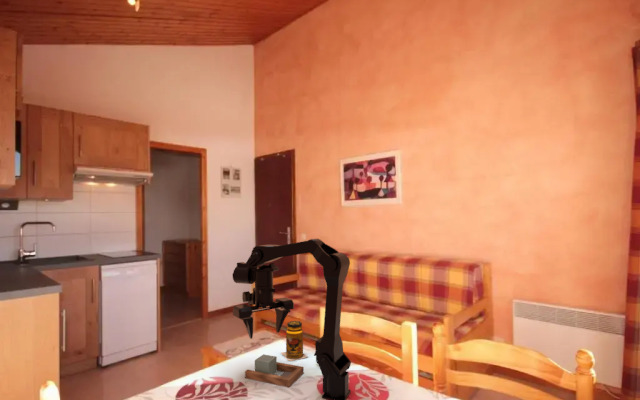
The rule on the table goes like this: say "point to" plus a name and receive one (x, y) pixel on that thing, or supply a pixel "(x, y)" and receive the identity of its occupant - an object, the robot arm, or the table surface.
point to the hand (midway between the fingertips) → (264, 335)
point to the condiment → (294, 341)
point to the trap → (285, 374)
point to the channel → (276, 379)
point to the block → (266, 364)
